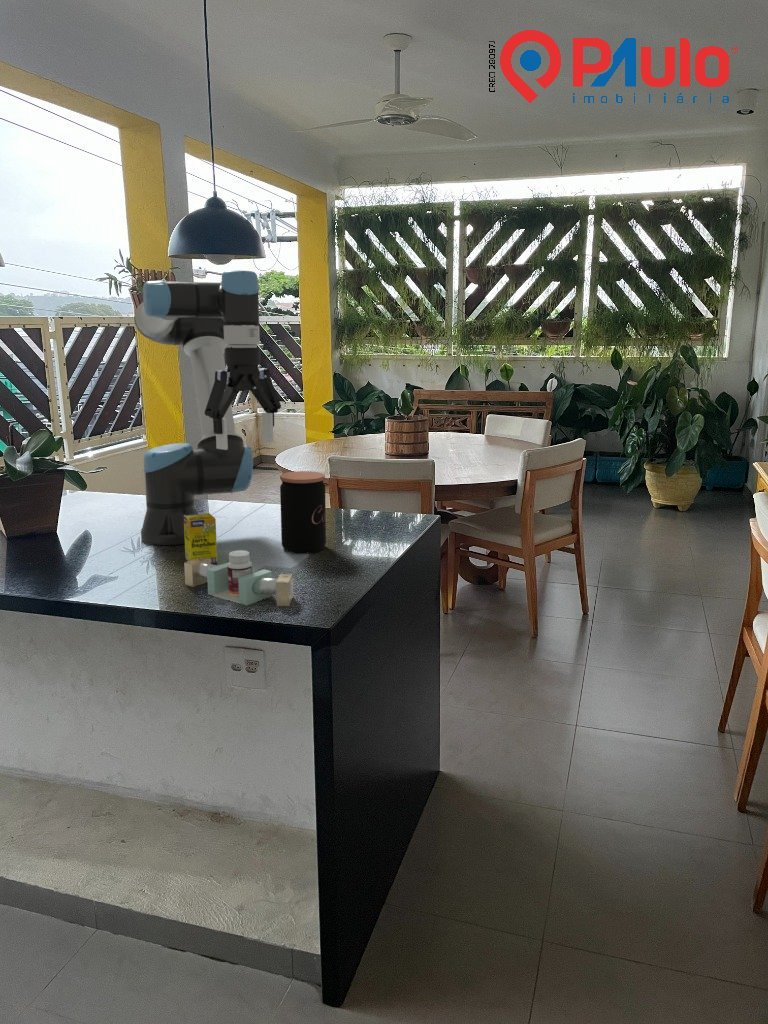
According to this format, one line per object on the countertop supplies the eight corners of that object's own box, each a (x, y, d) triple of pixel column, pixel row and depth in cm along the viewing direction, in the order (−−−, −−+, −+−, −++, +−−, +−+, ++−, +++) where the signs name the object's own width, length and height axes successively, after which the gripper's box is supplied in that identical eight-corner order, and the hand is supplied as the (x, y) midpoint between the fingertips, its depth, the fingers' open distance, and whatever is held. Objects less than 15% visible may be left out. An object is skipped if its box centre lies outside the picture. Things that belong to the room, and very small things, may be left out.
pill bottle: (230, 589, 154) (228, 549, 152) (253, 589, 154) (252, 549, 152) (227, 597, 149) (225, 556, 147) (251, 597, 150) (250, 556, 148)
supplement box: (191, 568, 168) (189, 520, 166) (185, 561, 173) (182, 514, 171) (218, 565, 171) (216, 517, 168) (211, 558, 176) (208, 512, 173)
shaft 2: (249, 605, 146) (248, 581, 145) (254, 596, 151) (253, 573, 150) (290, 606, 146) (290, 582, 145) (294, 597, 151) (293, 574, 150)
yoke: (208, 594, 152) (206, 569, 151) (234, 585, 158) (233, 561, 157) (246, 606, 146) (245, 580, 145) (272, 596, 151) (271, 571, 150)
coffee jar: (318, 555, 178) (317, 480, 174) (275, 552, 180) (273, 478, 176) (331, 543, 189) (330, 472, 184) (289, 540, 191) (288, 470, 186)
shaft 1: (182, 583, 158) (181, 561, 157) (201, 577, 162) (200, 556, 161) (212, 592, 153) (210, 570, 152) (230, 586, 157) (229, 564, 156)
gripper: (208, 348, 151) (213, 454, 156) (295, 345, 170) (297, 440, 175) (183, 347, 155) (189, 450, 160) (271, 345, 174) (273, 437, 179)
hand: (245, 445), depth 167 cm, fingers open, 13 cm apart
